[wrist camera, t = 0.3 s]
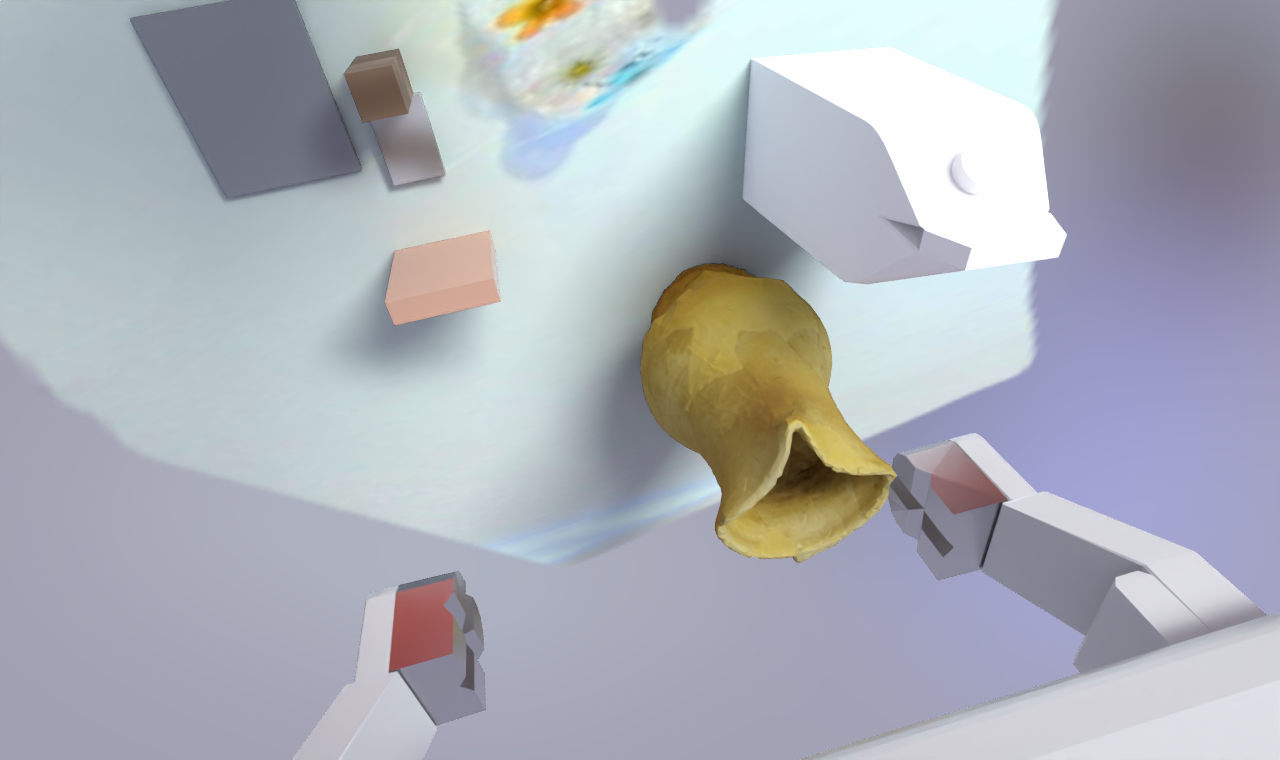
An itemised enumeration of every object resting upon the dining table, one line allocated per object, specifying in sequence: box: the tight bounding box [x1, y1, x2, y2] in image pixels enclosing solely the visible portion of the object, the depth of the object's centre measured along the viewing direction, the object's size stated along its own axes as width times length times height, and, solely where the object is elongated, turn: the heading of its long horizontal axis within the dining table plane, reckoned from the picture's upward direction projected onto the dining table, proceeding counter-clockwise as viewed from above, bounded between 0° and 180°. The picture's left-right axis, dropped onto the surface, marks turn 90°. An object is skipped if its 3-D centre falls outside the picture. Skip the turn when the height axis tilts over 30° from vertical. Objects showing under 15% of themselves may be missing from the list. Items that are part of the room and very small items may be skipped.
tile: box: [385, 231, 501, 325], centre depth 52 cm, size 2×8×9 cm, turn 99°
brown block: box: [344, 49, 446, 186], centre depth 46 cm, size 9×4×6 cm, turn 9°
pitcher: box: [641, 264, 896, 563], centre depth 56 cm, size 17×19×25 cm
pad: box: [130, 0, 362, 198], centre depth 46 cm, size 12×10×1 cm
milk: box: [743, 47, 1067, 284], centre depth 46 cm, size 12×12×26 cm
